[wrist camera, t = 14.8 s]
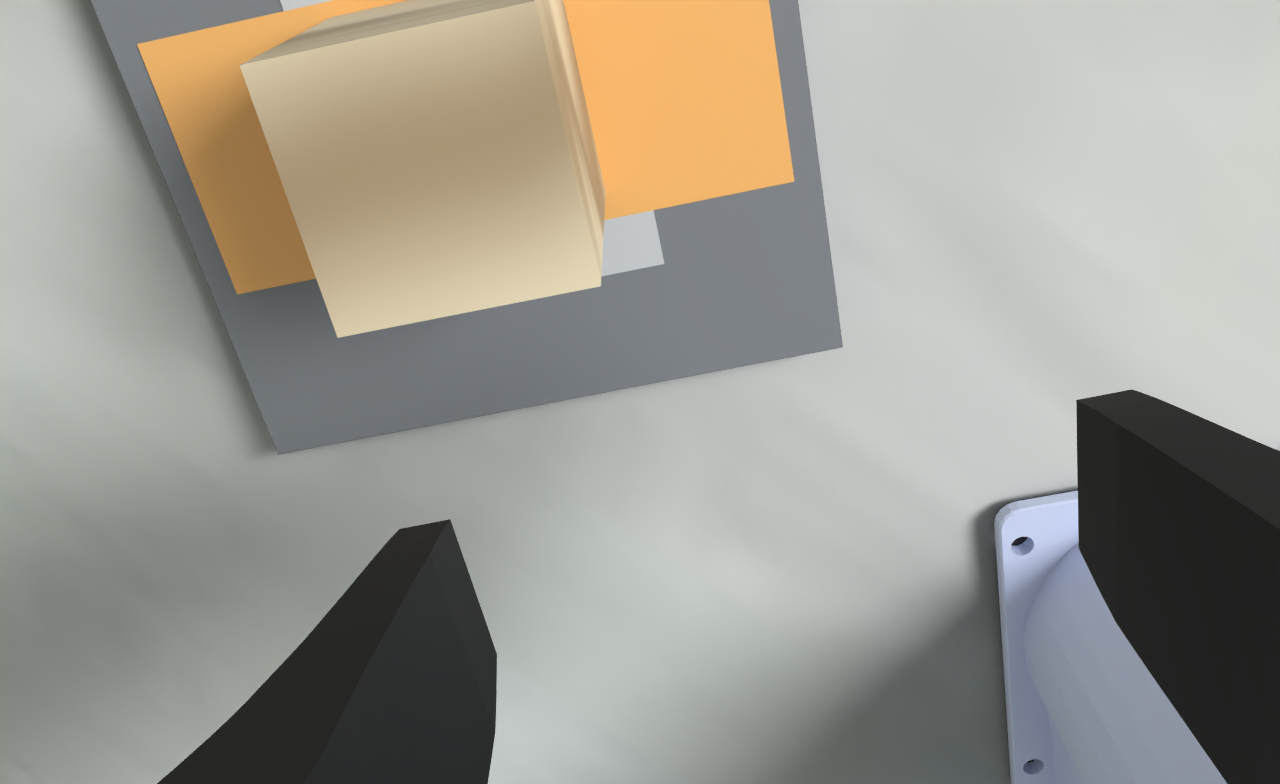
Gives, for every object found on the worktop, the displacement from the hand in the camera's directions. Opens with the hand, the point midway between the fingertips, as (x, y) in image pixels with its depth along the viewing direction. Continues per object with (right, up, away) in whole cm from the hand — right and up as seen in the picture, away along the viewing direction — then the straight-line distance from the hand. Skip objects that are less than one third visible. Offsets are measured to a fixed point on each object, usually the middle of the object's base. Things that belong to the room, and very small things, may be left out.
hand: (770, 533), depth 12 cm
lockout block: (-4, +7, +7) cm, 11 cm away
